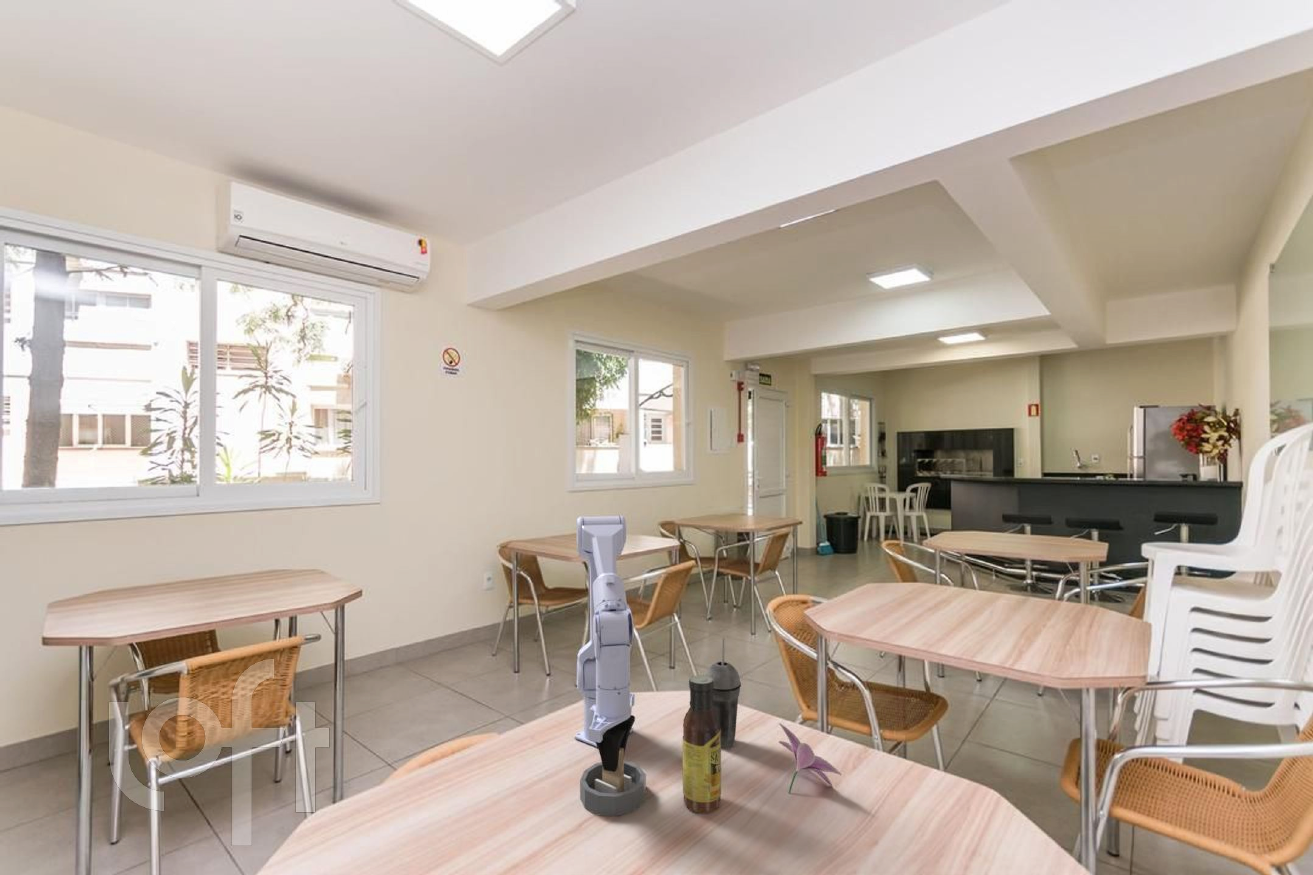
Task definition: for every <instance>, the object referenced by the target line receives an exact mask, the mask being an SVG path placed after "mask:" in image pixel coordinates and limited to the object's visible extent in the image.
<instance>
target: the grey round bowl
mask: <svg viewBox="0 0 1313 875" xmlns="http://www.w3.org/2000/svg"><path fill="white" fill-rule="evenodd" d="M579 787H580V788H579V800H580V802H581V804H582V806H583V807H584V809H585V810H588V812H589V811H590V812H592V813H593V814H595V815H598V816H611V817H618V816H622V815H625V814H628V813H632V812H634V811H635V810H637V809H638V808H639V807H640V806H642V805H643V804H644V803H645V800H646V794H647V774H646V773H645V771H644V770H643V768H642V767H641V766H640V765H637V764H635V763H633V762H631V761H627V760H624V791H623V792H620V793H617V787H615V786H612V785H610V784H608V783H606V782H603V781H602V761H600V762H596V763H594V764H593V765H590V766H589V767H588V768H586V769H585V770H584V771H583V773H582V775H581V778H580V780H579Z"/></svg>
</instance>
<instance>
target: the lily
mask: <svg viewBox="0 0 1313 875" xmlns="http://www.w3.org/2000/svg"><path fill="white" fill-rule="evenodd" d="M778 724H779V726H780V727H781V729H782V730H783V731H784V733H785V735H786V737H787V739H788V741H789V742H786V741H783V740H782V741H778V743H779V744H781V746H783V747H785V748H786V749H787V750H789V751H790V752H791V753H792V754H793V755H794V757H795V758H794V759H795V761H796V769H795V773H793V776H792V780H791V783H790V785H789V789H788V794H791V791H792V788H793V785H794V782H795V778H796V776H797V774H798V773H799V771H801V770H807V771H812V772H814V773H816V774H817V775H819V776H820V778H821V779H822V780H824V781H825V782H826V783H827V784H828V786H829V787H831V788H832V789H833V788H834V787H833V784H832V782H831V780H830V778H829V777H828V776H827V775H826V773H833V774H837V775H840V776H842V773H841V772H840V771H839V770H838V769H837V768H835V767H834V766H833V765H832V764H831V763H830V762H828V760H825V759H824V758H823V757H821V756H818V755H815V753H814V751H813V749H812V747H811V746H810V745H809V744H808V743H806V742H801V741H800V740H799V738H798V737H797V736H796V735H795V734H794V733H793V732H792V731H791V730H790V729H789V728H787V727H786V726H785V725H784V724H782V723H778ZM825 772H826V773H825Z"/></svg>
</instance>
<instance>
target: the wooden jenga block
mask: <svg viewBox="0 0 1313 875" xmlns="http://www.w3.org/2000/svg"><path fill="white" fill-rule="evenodd" d="M624 759H625V754H624V748H620V750H619V759H618V766H617V769H616V771H615V772H612V771H607V770H604V768H603V765H602V781H603V782H606V783H608V784H610V785H612V786H615V787H617V793H620V792H623V791H624V761H625V760H624Z"/></svg>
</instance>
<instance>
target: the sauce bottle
mask: <svg viewBox="0 0 1313 875" xmlns="http://www.w3.org/2000/svg"><path fill="white" fill-rule="evenodd" d="M688 683H689V684H688V688H689V692H690V693H689V696H690V698H689V699H690V700H689V708H688V710H687V712H686V713H685V715H684V718H683V724H682V729H683V730H682V732H683V736H682V793H683V794H682V795H683V803H684V805H685V806H686V808H688V810H691V811H693V812H695V813H696V812H697V813H704V814H705V813H709V812H713V811H715V810H716V809H717V808H718V807H719V806H720V803H721V795H722V749H721V728H720V725H719V722H718V719H717V716H716V713H715V710H714V707H713V688H714V683H713V679H712V678H711V677H709V676H706V674H698V675H697V674H696V675H692V676H691V677H689V680H688Z"/></svg>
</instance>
